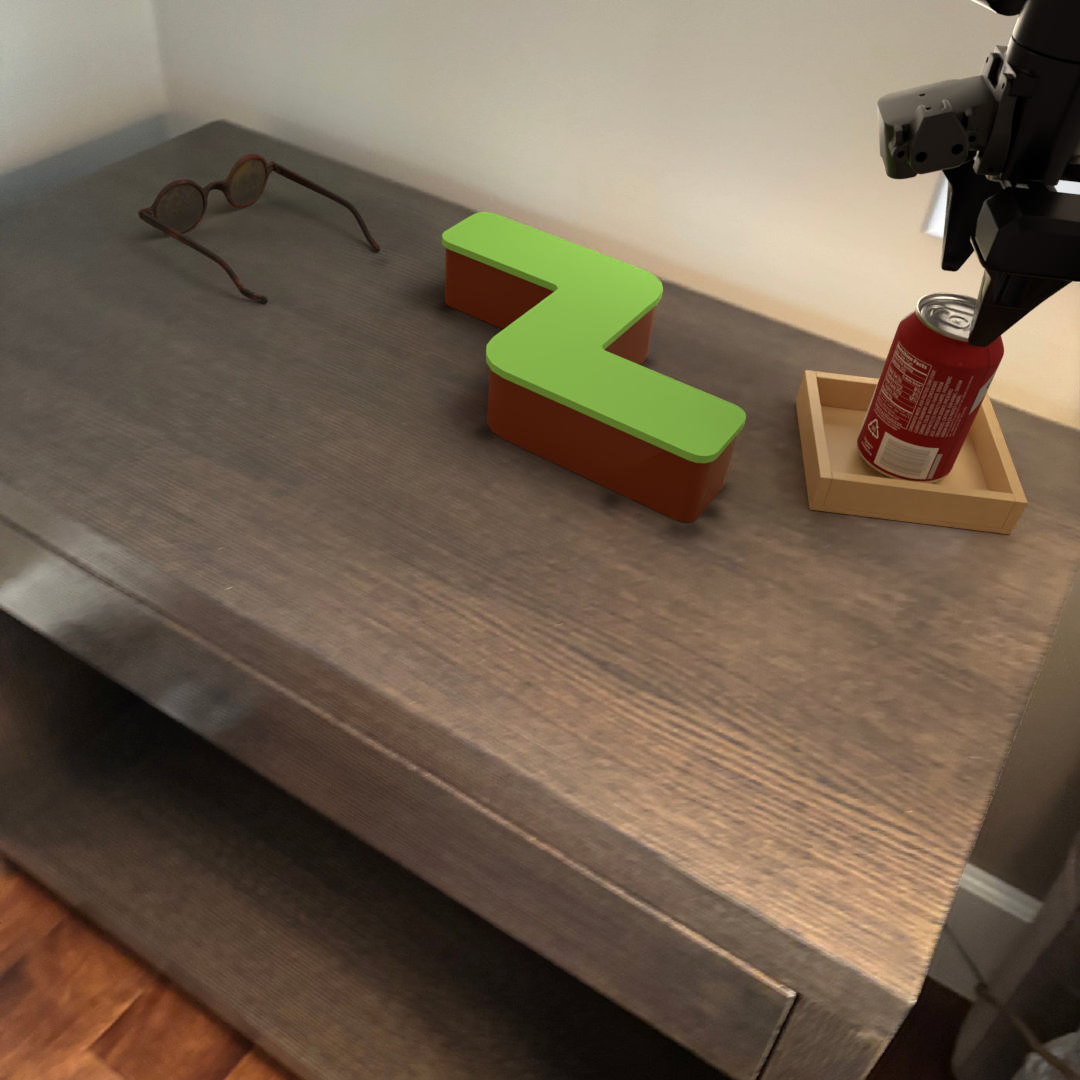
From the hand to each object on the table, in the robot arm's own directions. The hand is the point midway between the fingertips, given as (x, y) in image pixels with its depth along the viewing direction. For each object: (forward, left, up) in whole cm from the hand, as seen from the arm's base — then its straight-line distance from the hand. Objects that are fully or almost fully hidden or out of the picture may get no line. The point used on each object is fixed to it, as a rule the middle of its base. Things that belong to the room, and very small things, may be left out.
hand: (961, 305), depth 65 cm
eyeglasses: (+52, -20, -13) cm, 57 cm away
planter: (+24, -5, -13) cm, 28 cm away
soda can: (0, 0, -13) cm, 13 cm away
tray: (0, 0, -13) cm, 13 cm away
